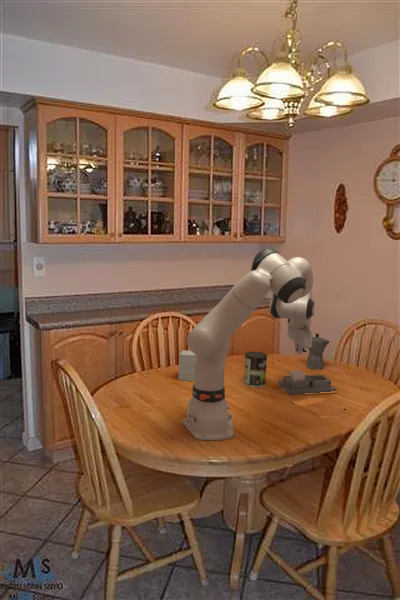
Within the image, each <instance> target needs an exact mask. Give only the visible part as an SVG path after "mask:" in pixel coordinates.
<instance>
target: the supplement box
mask: <svg viewBox="0 0 400 600" xmlns="http://www.w3.org/2000/svg"><path fill="white" fill-rule="evenodd" d="M197 358H198V355H196V354H194V353H193V352H192V351H191V350H181V352H179V354H178V376H177V377H178V380H179V381H185V382H194V370H195V363H196V361H197Z"/></svg>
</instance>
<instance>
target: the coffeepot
mask: <svg viewBox="0 0 400 600" xmlns="http://www.w3.org/2000/svg"><path fill="white" fill-rule="evenodd" d="M319 336H320V334H319V333H315V336H312V347H311V348H308V350H306V349H305V348H303V350H302V353H307V352H309V353H308V357H307V360H306V363H305V366H307V367H308V368H307V367H306V368H307V369H309V368H311V369H310V370H313V369H321V368H323V369H325V366H324V365H325V364H324V356H323V354H324V351H325V349H326V347H327V345H328V344H330V343H331V342H330V340H327V339H325V338H323V337H319Z"/></svg>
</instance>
